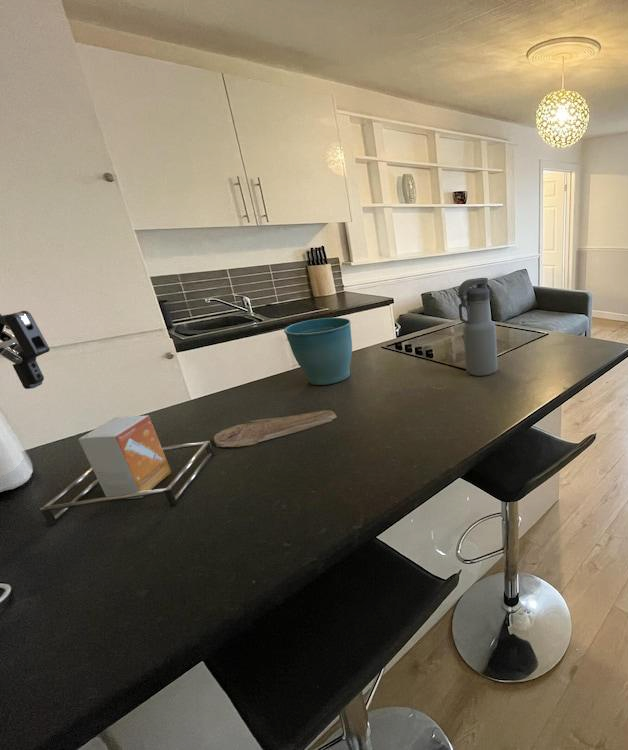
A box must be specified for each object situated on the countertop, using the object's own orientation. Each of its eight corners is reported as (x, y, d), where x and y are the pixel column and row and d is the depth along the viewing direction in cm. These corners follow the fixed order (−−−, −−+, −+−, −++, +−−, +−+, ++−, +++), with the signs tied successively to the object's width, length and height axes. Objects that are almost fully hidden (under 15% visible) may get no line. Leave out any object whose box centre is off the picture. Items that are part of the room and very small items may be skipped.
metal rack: (47, 526, 68) (37, 509, 67) (112, 469, 83) (105, 454, 82) (175, 506, 72) (168, 489, 70) (215, 454, 87) (210, 439, 86)
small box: (143, 498, 74) (114, 436, 69) (106, 501, 74) (75, 439, 69) (173, 472, 82) (149, 414, 77) (140, 474, 81) (114, 416, 76)
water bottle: (473, 379, 120) (467, 283, 109) (459, 369, 128) (452, 279, 117) (503, 372, 125) (500, 279, 114) (488, 363, 132) (483, 275, 122)
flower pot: (286, 381, 125) (273, 327, 118) (341, 364, 137) (331, 314, 131) (315, 395, 114) (301, 337, 107) (371, 375, 126) (362, 322, 120)
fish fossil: (329, 405, 107) (329, 401, 107) (339, 423, 100) (338, 419, 99) (213, 434, 94) (212, 429, 94) (214, 456, 87) (213, 452, 86)
